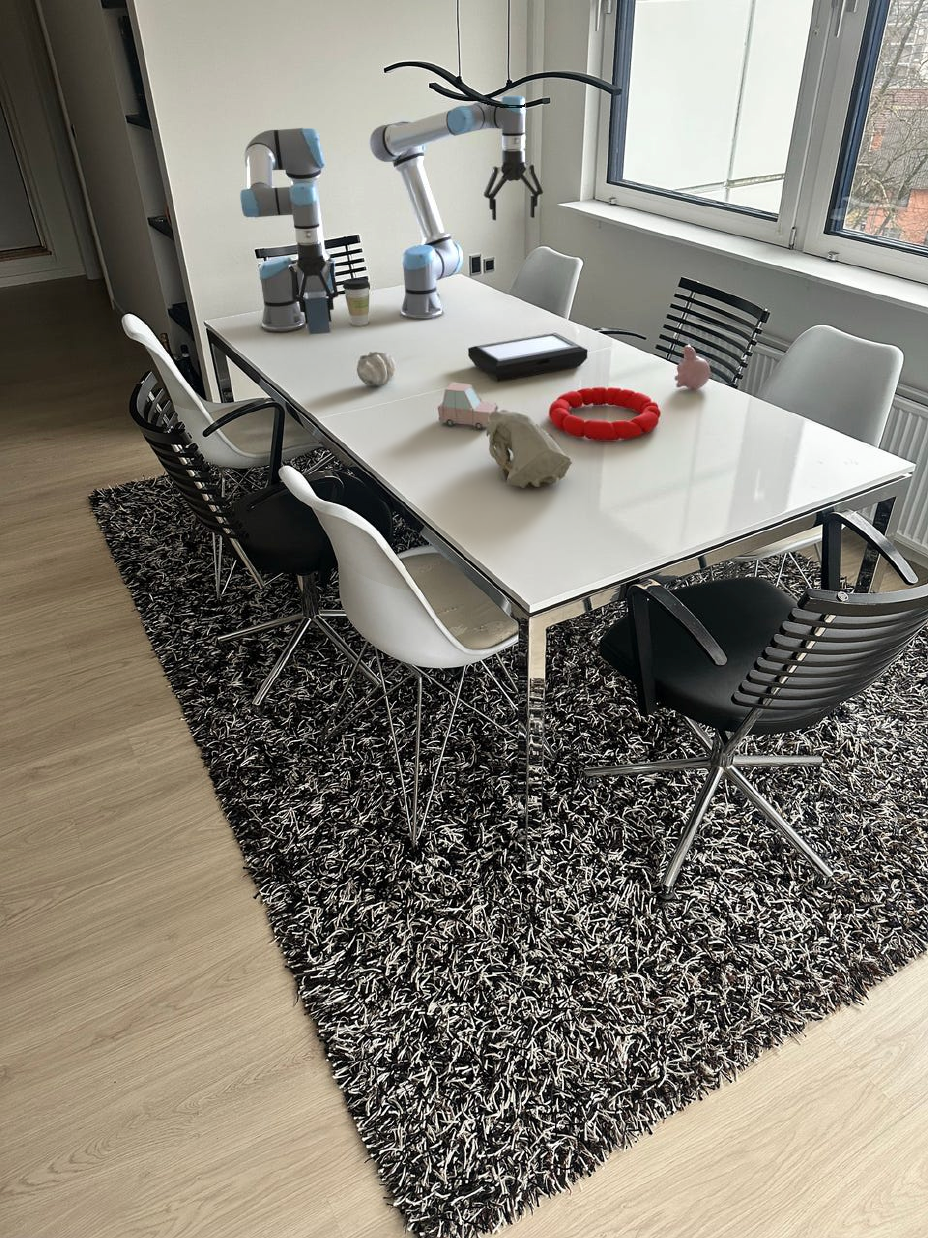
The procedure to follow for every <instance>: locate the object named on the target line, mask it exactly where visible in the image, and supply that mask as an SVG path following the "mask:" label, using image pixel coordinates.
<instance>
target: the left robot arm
mask: <svg viewBox="0 0 928 1238" xmlns="http://www.w3.org/2000/svg"><path fill="white" fill-rule="evenodd" d="M243 158H244V164H245V167H246V168H247V188H246V189H242V190H240V192H239V197H240V200H239V201H240V206H241V212H242V214H243V216H244V217H246V218H256V219H257V218H264V217H265V218H266V217H277V216H278V217H279V216H292V220H293V230H294V238H295V242H296V245H295V246H296V253H297V255H296V260H295V261H292V258H291V257H290V256H277V257H273V258H270V259H267V260H265V261H263V262H261V263H260V265H259V266H258V270H259V280H260V285H261V286H260V287H261V292H262V299H263V313H262V319H261V326H262V330H264V331H265V332H271V333H286V332H293V331H296V330H297V331H298V330H300V329H302V328H304V326H305V325H308V320H307V312H306V305H305V299H304V297H305V296H304V293H309V292H322V291H325V292H326V296H327V297H326V298H327V307H328V316H329V323H332V313H331V311H334V309H335V306H334V299H335V298H338V297H339V291H338V286H337V281H336V262H335V259H334V258H332V257H331V254H330V253H329V252H328V251H327V250H326V247H325V238H324V230H323V220H322V210H321V203H320V193H319V181H318V179H319V177H320V176H321V175H322V169H324V168H325V160H324V155H323V151H322V145H321V142H320V138H319V134H318V131H317V130H316V129H314V128H305V127H298V128H297V127H295V128H284V129H269V130H268V129H267V130H265V131H263V132H260V133H258V134H257V135H255V136H254V137H253V138H252V139H251V140H250V141H249V143H248V144H247V145H246V148H245V150H244V157H243ZM274 171H285V177H287V178H288V179H289V180H290V181H291V185H290V186H282V187H281V186H280V187H274V175H273V172H274ZM297 302H298V303H297ZM298 305H299V306H298ZM302 313H303V314H304V317H303V314H302Z"/></svg>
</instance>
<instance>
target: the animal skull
mask: <svg viewBox="0 0 928 1238" xmlns="http://www.w3.org/2000/svg"><path fill="white" fill-rule="evenodd" d="M485 436H486V438H487V437H489V438H488V440H489V444H488V445H489V446H488V450H489V454H490V456H491V457H492V458H493V459H494V460H495V462H496V464H497V466H499V468H500V470H501V471H502V472H501V478H502V479H507V480H506V484H507V486H517V487H518V486H519V488H523V489H524V488H526V486H527V485H529V483H531V485H533V486H534V487H536V488H540V485H541V484H542V482H544V483H549V484H550V485H553V484H555V483H556V482H557V480H561V479H563V478H565V476H566V474H567V472H568V471H569V469H570V467H571V466H572V464H573V462H572V461H571V458H570V457H568V456H567V455H565V453H564V451H562V449H561V448H560V446H559V444H557V443H556V439H555V438H554V436H553V435H551V434H550V433H548V432H547V431H546V430H545V429H544V428H542V427H541V426H539V425H538V424H537V423H536V424H535V422H534V421H533V419H532V418H531V417H530V416H529V415H527V414H524V413H519V412H515V411H509V410H507V409H502V410H500V411H499V410H497V411H496V412H492V413H491V414H490V422H488V423H487V427H486V435H485ZM511 453H512V454H511ZM511 455H512V457H513V458H512V460H511ZM507 474H508V475H507Z"/></svg>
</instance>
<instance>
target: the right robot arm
mask: <svg viewBox="0 0 928 1238" xmlns="http://www.w3.org/2000/svg"><path fill="white" fill-rule="evenodd" d="M481 102H482V101H475V102H474V103H472V104H470V105H469V104H468V105H460V106H456V107H454V108H452V109H449V110H447V111H443V112H439V113H437V114H433V115H430V116H427V117H423V118H421V119H417V120H413V121H403V120H402V121H400V122H394V123H389V124H383V125H382V124H381V125H380V126H377V127H376V128H375V129H374V130H373V131H372V133H371V135H370V137H369V148H370V151H371V153H372V155H374V158H376V159H377V160H379V161H380V162H384V163H391V162H392V165H393V168H394V170H396V171H397V172H399V173H400V176H401V178H402V181H403V185H404V186H405V190H406V193H407V195H408V199H409V202H410V205H411V208H412V211H413V215H414V217H415V220H416V223H417V226H418V229H419V231H420V234H421V238H422V241H421V244H419V245H413V246H411V247H408V248H407V249H406V250H405V251H404V252H403V257H402V266H403V278H404V279H403V280H404V298H403V301H402V306H401V316H402V317H403V318H405V319H409V320H415V321H416V320H417V321H418V320H419V321H424V320H432V319H435V318H439V317H441V316H442V315H443V307H442V304H441V301H440V299H439V298H440V295H439V293H438V292H437V281H439V280H442V279H444V278H449V277H452V276H453V275H455V274H456V273H458V272H459V271H460V269H461V267H462V266H463V265H462V264H463V262H464V254H463V250H462V247H461V246H460V244H458V243H457V242H456V241H454V240H453V239H452V237H451V234H450V233H448V232H446V231H445V229H444V225H443V222H442V219H441V215H440V213H439V210H438V207H437V204H436V201H435V198H434V195H433V191H432V189H431V186H430V185H431V184H430V182H429V180H428V176H427V173H426V169H425V167H424V165H423V164H424V160H425V158H426V157H425V154H424V152H425V150H426V145H428V144H432V143H436V142H439V141H442V140H446V139H449V138H452V137H456V136H460V135H463V134H464V135H465V134H468V133H471V132H475V131H476V132H477V131H482V130H487V129H499V130H501V148H502V149H503V150H502V151H501V162H502V163H501V166H495V165H493V166H492V173H491V176H490V177H489V180H488V183H487V185H486V187H485V190H484V192H483V197H484V198H486V199H488V207H489V208H488V209H489V210H491V219H492V220H493V221H497V199H496V196H497V195H498V193H499V191H500V190H501V189H502V187H503V186H504V185H505V183H506V182H507V181H509V182H513V181H520V180H521V182H522V183H523V184H524V185H525V186H526V188H527V189H528V190H529V192H530V193H531V194H532V195H530V206H529V207H530V208H529V209H530V210H529V211H530V214H529V215H530V218H532V219H534V218H535V209H536V207H538V198H539V196H540V195H543V193H544V190H543V189H542V186H541V184H540V181H539V180H538V177H537V175H536V173H535V165H533V164H532V163H529V164H528V165H527V164H526V162H525V160H526V159H525V158H526V157H525V156H526V153H525V152H526V151H525V148H526V142H525V141H526V133H525V130H526V113H527V112H526V106H525V107H522V108H500V107H495V106H491V105H487V104H484V103H481ZM501 103H502V104H508V105H524V104H525V105H526V100H525V97H524V96H522V95H505V96H503V97H502V98H501ZM509 107H516V106H509ZM526 171H527V172H528V173H529V175H530V177H531V180H532V182H533V184H534V186H535V188H536V189H535V188H534V187H533V186H532V184H531V183H530V182H529V180H528V179H527V178H526V176H525V172H526ZM500 172H501V174H502V175H501V177H500V179H499V180H498V182H497V184H495V182H496V180H497V177H498V175H499V174H500ZM494 184H495V186H494ZM493 187H494V188H493Z"/></svg>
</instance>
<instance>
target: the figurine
mask: <svg viewBox="0 0 928 1238" xmlns="http://www.w3.org/2000/svg"><path fill="white" fill-rule="evenodd" d="M682 354H683V358H684V359H683V361H682V362H679V363H678V364H677V365H676V372H677V375H675V376H674V381H675V382H676V381H677V382H676V384H675V386H676V388H681V387H686V388H688V389H693V390H694V389H695V390H696V389H700V388H703V387H704V386H705V385H706V384H707V383H708V382H709V379H710V377H711V367H710V364H709V362H708V361H706V359H704V358H702V357H700V356H697V353H696V350H695V349H694V347H692V345H690V344H686V345H685V346H684V347H683V348H682Z"/></svg>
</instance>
